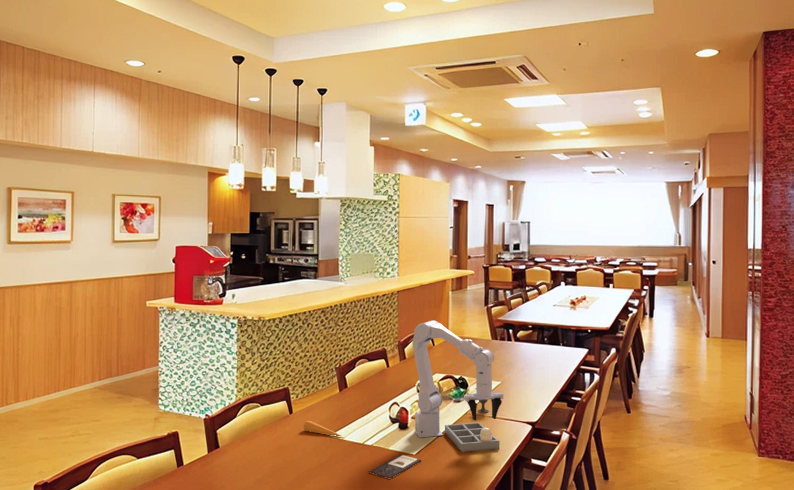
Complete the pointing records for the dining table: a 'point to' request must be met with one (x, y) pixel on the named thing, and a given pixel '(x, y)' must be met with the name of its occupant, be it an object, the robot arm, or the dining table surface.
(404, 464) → the chocolate bar
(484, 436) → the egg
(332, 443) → the dining table surface
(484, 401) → the sundae
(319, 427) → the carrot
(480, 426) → the grey compartment tray
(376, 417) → the dining table surface
